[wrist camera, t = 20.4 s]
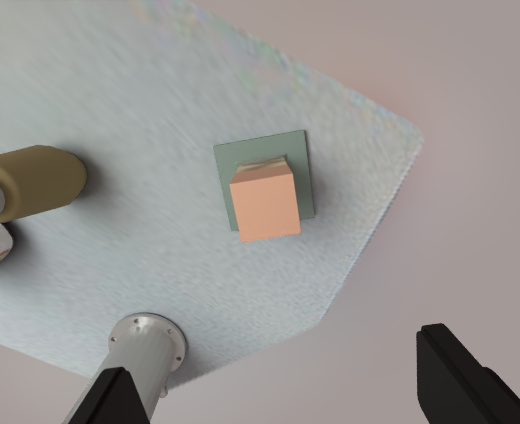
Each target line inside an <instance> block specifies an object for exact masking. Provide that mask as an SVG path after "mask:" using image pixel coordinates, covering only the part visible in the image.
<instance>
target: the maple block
mask: <svg viewBox="0 0 520 424" xmlns="http://www.w3.org/2000/svg"><path fill="white" fill-rule="evenodd" d="M286 164H287V163H286V161H285V159H284V158H281V159H275V160H269V161H264V162H258V163H252V164H246V165H241V166H239V167H238V169H237V171H236V173H240V172H246V171H252V170H258V169H263V168H269V167H275V166H280V165H286Z"/></svg>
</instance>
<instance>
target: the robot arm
mask: <svg viewBox="0 0 520 424" xmlns="http://www.w3.org/2000/svg"><path fill="white" fill-rule="evenodd" d="M416 335H417V336H416V338H417V340H416V341H417V396H418V401H419V404H420V407H421V409H422V411H423V412H424V414H425V416H426V418H427V420H428V421H429V423H430V424H520V399H519V398H518V397H517V395H515V393H514V392H513V391H512V390H511V389H510V388H509V387H508V386H507V385H506V384H505V383H504V382H503V380H501V378H500V377H499V376H498V375H497V374H496V373H495V372H494V371H492V370H491V369H489V368H488V367H482V366H481V365H480V364H479V362H478V361H477V360H476V359H475V358H474V357H473V356H472V355H471V353H470V352H469V351H468V350H467V349H466V348H465V347H464V346H463V345H462V343H461V342H460V341H459V340H458V339H457V338H456V337H455V336H454V334H452V332H451V331H450V330H449V329H448V328H447V327H446V326H445V325H444V324H442V323H439V324H432V325H424V326H422V328H421V331H418V332H417V334H416ZM108 346H109V351H110V352H109V354H108V355H107V357H106V358H105V360H104V361H103V363H102V364H101V366H100V367H99V369H98V370H97V372H96V373H95V375H94V376H93V378H92V379H91V381H90V382H89V384H88V386H87V387H86V388H85V390H84V391H83V393H82V394H81V396H80V398H79V399H78V401H77V402H76V404H75V405H74V407H73V408H72V410H71V411H70V412H69V414H68V416H67V417H66V419H65V420H64V421H63V423H62V424H150V420H151V417H152V415H153V412H154V410H155V407H156V404H157V402H158V399H159V397H160V398H164V397H165V396H166V395H167V393H168V391H167V389H166V386H165V384H166V381H167V378H168V376H169V374H171V373H173V372H174V371H175V370H177V369H178V367H179V366H180V365H181V363H182V362H183V359H184V356H185V352H186V342H185V339H184V336H183V335H182V333H181V331H180V330H179V329H178V328H177V326H175V325H174V324H173V323H172V322H171V321H169V320H167V319H165V318H163V317H161V316H158V315H154V314H148V313H140V314H134V315H130V316H128V317H126V318H124V319H122V320H121V321H120V322H118V323H117V325H116V326H115V327H114V329H113V330H112V332H111V333H110V336H109V342H108Z"/></svg>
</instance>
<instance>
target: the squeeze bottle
mask: <svg viewBox="0 0 520 424" xmlns="http://www.w3.org/2000/svg"><path fill="white" fill-rule="evenodd" d="M86 181H87V172H86V169H85V167H84V165H83V163H82V162H81V161H80V160H79V159H78V158H77V157H76V156H75V155H73V154H71V153H68V152H66V151H63V150H60V149H57V148H54V147H51V146H42V145H35V146H32V147H28V148H24V149H20V150H16V151H12V152H8V153H4V154H0V223H4V222H8V221H12V220H15V219H19V218H23V217H26V216H30V215H34V214H37V213H41V212H45V211H48V210H52V209H56V208H59V207H62V206H65V205H68V204H70V203H71V202H72V201H73V200H74V199H75V198H76V197H77V196H78V194H79V193H80V192H81V190H82V189H83V188H84V186H85V184H86Z"/></svg>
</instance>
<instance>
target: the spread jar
mask: <svg viewBox="0 0 520 424" xmlns="http://www.w3.org/2000/svg"><path fill="white" fill-rule="evenodd" d="M13 246H14V237H13V235H12V233H11V231H10V230H9V228H8V227H7V226H6V225H5V224H4V223H0V260H1V259H3V258H4V257H5V256H7V255H8V254H9V253H10V251H11V250H12V248H13Z"/></svg>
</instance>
